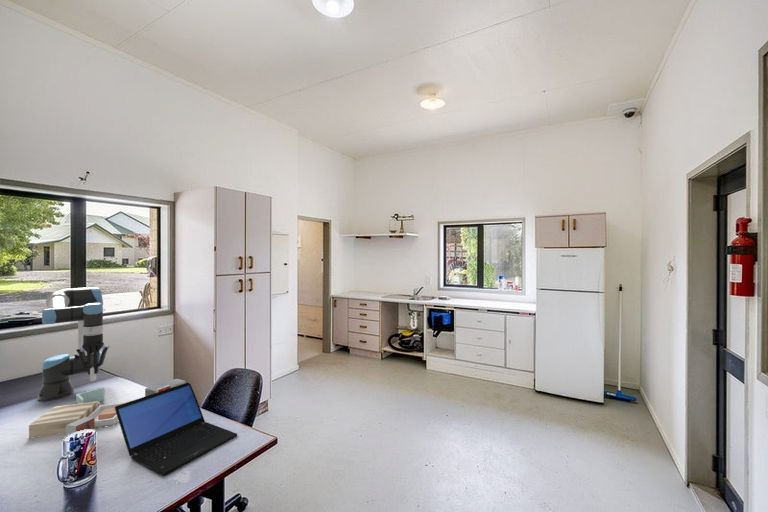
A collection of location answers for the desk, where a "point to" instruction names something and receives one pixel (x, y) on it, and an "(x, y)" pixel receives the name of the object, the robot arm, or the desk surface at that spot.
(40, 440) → the desk surface
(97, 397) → the l-shaped corner panel
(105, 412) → the tile
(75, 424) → the small box
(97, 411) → the box
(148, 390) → the hard drive box
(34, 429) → the plate
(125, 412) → the laptop
